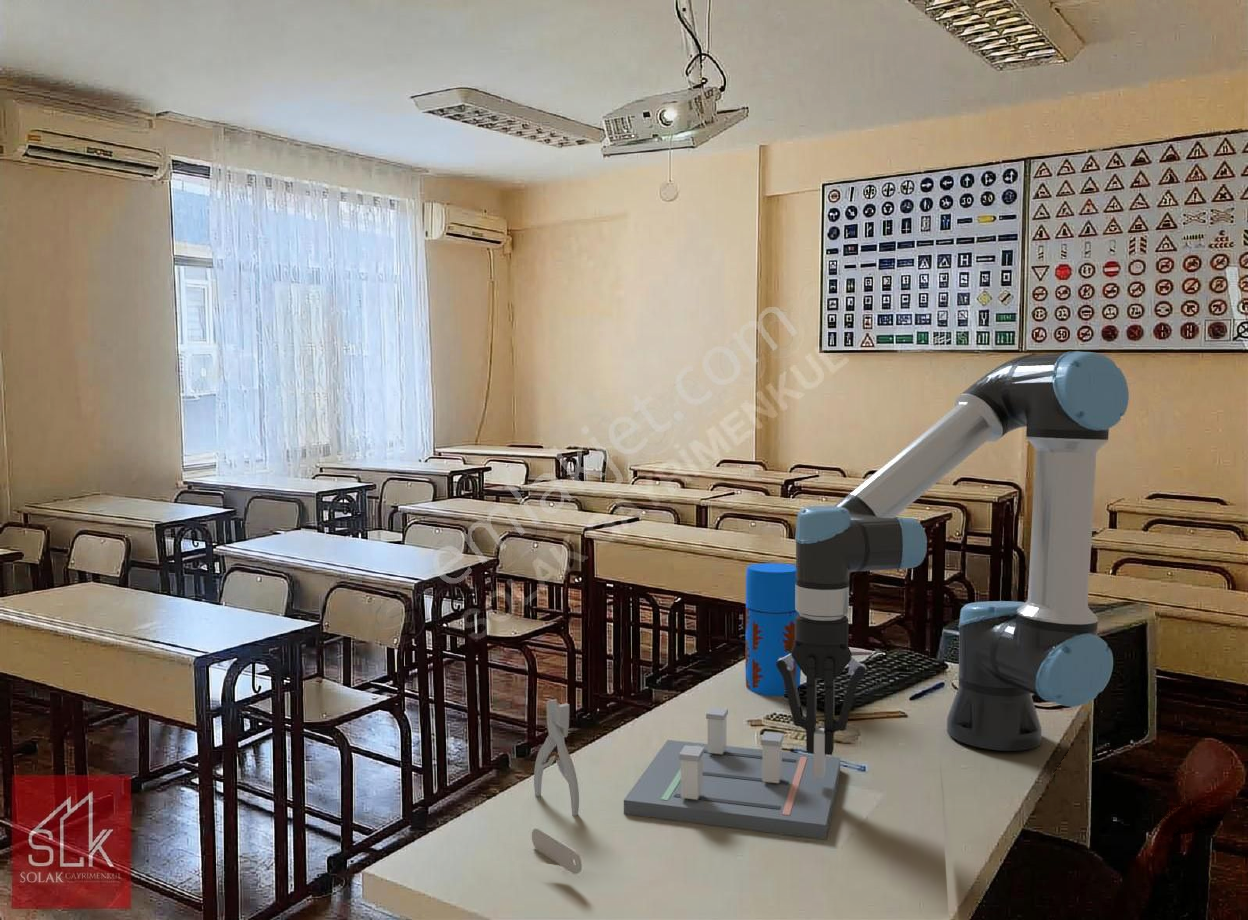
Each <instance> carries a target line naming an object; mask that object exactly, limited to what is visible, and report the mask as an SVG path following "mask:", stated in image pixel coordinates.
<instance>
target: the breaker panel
mask: <svg viewBox="0 0 1248 920" xmlns="http://www.w3.org/2000/svg"><path fill="white" fill-rule="evenodd" d="M685 745H688V746H697V747H704V754H703V764H702V792H701V794H700V796H699V798H698V800H696V799H688V798H681V760H679V754H680V752H681V751H682V749H683V748H684V746H685ZM762 755H763V749H758V748H750V747H749V748H748V747H742V746H741V747H740V746H731V745H726V749H725V751H724V752H723V754H715V753H708V743H702V742H701V743H700V742H692V741H684V740H683V741H681V740H672V739H667V740H666V742H665V743H664V744H663V746H662V747H661V748H660V749H659V751H658V752H657V753H656V755H655V757H654V758H653V760H651V762H650V763H649V764H648V766H647V768H646V769H645V770H644V771H643V773H642V774H641V776H640V777H639V778H638V779H637V781H636V782H635V784H634V785H633V786H632V788H631V790H630V791H629V792H628V793H627V794H626V796H625V797H624V799H623V814H624V815H631V816H636V817H637V816H639V817H647V818H655V819H661V820H662V819H663V820H669V821H677V822H685V823H686V822H687V823H692V824H700V825H707V826H708V825H710V826H717V827H724V828H733V829H740V830H746V831H747V830H749V831H755V832H763V833H773V834H780V835H786V836H787V835H788V836H795V837H801V838H810V839H811V838H812V839H816V840H817V839H819V840H827V835H828V830H829V825H830V821H831V816H832V811H833V807H834V802H835V797H836V792H837V788H838V783H839V778H840V774H841V757H839V756H837V757H836V756H828V755H826V773H825V777H824V779H821V778H813V776H814V754H810V753H809V754H806V753H796V752H789V751H782V776H781V779H780V781H779V783H772V782H763V781H762Z"/></svg>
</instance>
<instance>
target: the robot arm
mask: <svg viewBox="0 0 1248 920" xmlns="http://www.w3.org/2000/svg"><path fill="white" fill-rule="evenodd" d="M1129 396H1130V393H1129V385H1128V382H1127V379H1126V377H1125V375H1124V373H1123V371H1122V369H1121V368H1120V367H1118V366H1117V364H1116V362H1115V361H1114V360H1113V359H1111V358H1110V357H1108V356H1106V355H1105V354H1102V353H1097V352H1093V351H1092V352H1091V351H1079V350H1077V351H1067V352H1055V353H1054V352H1052V353H1041V354H1036V353H1035V354H1034V353H1033V354H1025V355H1020V356H1018V357H1014V358H1011V359H1010V360H1008V361H1005V362H1004V363H1002V364H1000V365H998V366H997V367H995V368H993V370H991V371H989V372H988V373H986V374H985V375H984V376H982V377H981V378H980V379H978V380H976V381H975V382H974V383H973V384H972V385H970V386H969V387H968V388H967V389H965V390H964V391H963V392H962V393H961V394H959V395H958V396H957V397H956V399H955V402H954V407H953V408H952V409H951V410H949V412H947V413H946V414H945V415H944V416H942V417H941V418H940V419H938V420H937V421H936V422H935V423H934V424H933V425H931V426H930V427H929V428H928V429H926V430H925V431H924V432H923V433H922V434H920V435H919V436H918V437H917V438H915V439H914V440H913V441H912V442H911V443H910V444H908V445H907V446H906V447H904V448H903V449H902V450H901V451H900V452H898V453H897V454H896V455H894V457H892V458H891V459H890V460H888V462H886V463H885V464H884V465H882V466H881V467H880V468H879V469H878V470H876V471H875V472H874V473H873V474H872V475H870V476H869V477H867V479H865V481H864V482H862V483H861V484H859V485H858V486H857V487H856V488H854V490H852V491H851V492H849V494H847V495H846V496H845V497H844V498H843V499H841V500H840V501H838V502H837V503H836V504H835V505H825V506H824V505H812V506H805V507H802V508H801V509H799V511H798V514H797V519H796V526H795V527H796V528H795V536H794V539H795V566H796V584H795V610H796V611H797V612H798V613H799V614H797V616H796V617H795V644H794V646H793V648H792V650H791V653H790V654H789V655H787V656H785V657H780V658H779V659H778V661H777V663H776V666H777V668H778V670H779V671H780V673H781V675H782V676H783V679H784V683H785V688H786V692H787V695H786V696H787V699H788V704H789V709H790V713H791V717H792V721H793V725H794V726H795V727H800V728H802V729H803V730H805V733H806V734H805V738H806V739H805V740H806V741H805V748H806V749H805V751H806V752H807V753H809V754H813V755H814V776H813V778H821V779H824V777H825V773H826V756H828V755H830V756H832V754H833V752H834V749H835V744H834V743H835V742H834V741H835V733H836V732H838V731H841V732H843V731H845V730H846V728H847V724H848V721H849V718H850V714H851V709H852V706H853V704H854V703H853V702H854V699H855V696H856V691H857V689H858V688H857V687H858V685H859V682H860V681H861V680H862V678H863V677H864V676H865V675H866V672H867V664H866V663H864V662H859V661H858V660H856V659H855V658H854V657H853V656H852V654H851V650H850V646H849V618H848V617H847V614H848V613H849V610H850V609H849V606H850V604H849V603H850V602H849V601H850V599H849V598H850V597H849V595H850V574H851V573H857V572H871V571H872V572H873V571H875V572H876V571H892V570H894V571H895V570H896V571H901V570H906V569H913V568H916V567H918V566H920V565H921V564H922V563H923V562H924V560H925V557H926V555H927V549H928V548H927V547H928V545H927V543H928V540H927V538H928V537H927V534H926V532H925V529H924V527H923V526H922V524H921V523H920V522H919V521H918V520H917V519H915V518H911V517H900V516H898V515H900V514H901V513H902V512H903V511H904V510H906V509H907V508H908V507H909V506H911V505H912V503H914V502H916V501H917V500H918V499H919V498H921V497H922V495H924V494H925V493H926V492H927V491H929V490H930V489H931V488H932V487H933V486H935V485H936V484H937V483H938V482H939V481H941V480H942V479H943V478H944V477H945V476H946V475H948V474H949V473H950V472H951V471H952V470H954V469H955V468H956V467H957V466H959V465H960V464H961V463H962V462H963V461H965V460H966V459H967V458H968V457H970V456H971V455H972V454H973V453H975V451H976V450H978V449H979V448H980V447H982V446H983V445H984V444H985V443H987V442H988V443H989V442H990V443H992V442H993V443H994V442H997V441H999V440H1000V439H1001V438H1002V437H1004V436H1005V435H1006V434H1008V433H1009V432H1012V431H1014V430H1017V429H1019V428H1024V427H1025V429H1026V432H1025V433H1026V434H1025V439H1026V440H1027V442H1029V443H1030V444H1031V446H1033V448H1034V450H1035V458H1034V460H1035V461H1034V462H1035V463H1034V477H1033V495H1032V497H1033V498H1032V516H1031V534H1030V549H1029V550H1030V554H1029V569H1028V570H1029V572H1028V573H1029V574H1028V589H1027V591H1028V592H1027V600H1026V601H1025V602H1024V601H1011V600H1010V601H1009V600H1008V601H1007V600H1006V601H1005V600H998V601H997V600H996V601H995V600H993V601H975V602H970V603H966V604H964V605H963V607H961V609H960V615H959V623H958V688H957V690H956V694H955V696H954V698H953V701H952V704H951V707H950V709H949V712H948V715H947V719H946V731H947V732H946V733H947V734H948V735H949V736H950V737H951V738H953V739H954V740H956V741H958V742H960V743H962V744H966V745H968V746H973V747H977V748H980V749H988V750H992V751H993V750H994V751H1006V752H1008V751H1011V752H1012V751H1013V752H1014V751H1024V750H1025V751H1026V750H1031V749H1035V748H1036V747H1038V746H1039V745H1040V744H1041V743H1042V734H1043V733H1042V725H1041V722H1040V718H1039V716H1038V713H1037V709H1036V706H1035V703H1034V700H1033V696H1032V694H1033V695H1035V696H1037V697H1040V698H1041V699H1042V700H1044V701H1046V702H1049V703H1052V704H1053V703H1054V704H1058V705H1061V706H1064V707H1079V706H1083V705H1086V704H1088V703H1090V702H1092V701H1093V700H1094V699H1096V698H1097V696H1098V695H1099V693H1102V692H1103V691H1104V689H1105V688H1106V687H1107V685H1108V684H1109V681H1110V678H1111V677H1112V674H1113V673H1112V672H1113V668H1114V667H1113V666H1114V657H1113V652H1112V650H1111V648H1110V647H1108V643H1107V642H1106V641H1105V640H1104V639H1102V638H1101V637H1100V636H1099V635H1098V626H1099V625H1098V623H1099V620H1098V616H1097V615H1096V614H1095V613H1094V612H1093V611H1092V610H1091V609H1090V607H1089V591H1090V589H1089V588H1090V573H1091V570H1090V569H1091V553H1092V537H1093V536H1092V535H1093V521H1094V520H1093V519H1094V501H1095V485H1096V484H1095V483H1096V482H1095V481H1096V467H1097V466H1096V465H1097V464H1096V463H1097V453H1098V451H1099V450H1100V449H1101V448H1102V447H1103V446H1105V445H1106V444H1107V443H1108V442H1109V436H1110V435H1109V434H1110V429H1111V428H1113V427H1114V426H1115V425H1117V424H1118V423H1120V421H1121V417H1122V416H1125V414H1126V412H1127V410H1128V406H1129V399H1130V398H1129ZM794 660H795V662H796V663H797V665H798V666H799V668H800V669H801V673H802V674H804V677H806V681H805V683H806V700H805V701H806V704H805V705H806V711H805V715H806V716H804V713H803V709H802V704H801V699H800V695H799V691H798V690H797V685H796V681H795V677H794V673H793V668H794V663H793V661H794ZM847 666H848V672H847V673H848V675H849V676H850V678H849V680H848V685H847V688H846V690H845V691H846V692H845V695H844V698H843V703H842V707H841V710H840V713H839V718H838V719H835V709H836V708H835V707H836V706H835V705H836V704H835V702H836V701H835V697H836V696H835V693H836V687H835V685H836V678H837V677H839V675H841V673H842V672H843V671H844V669H845V668H846V667H847ZM818 679H819V680H820V679H821V680H824V718H823V719H824V721H823V722H824V726H823V727H818V726H817V723H818V722H817V704H818V703H817V698H818V697H817V696H818V695H817V694H818V693H817V692H818V685H817V684H818Z"/></svg>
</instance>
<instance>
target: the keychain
mask: <svg viewBox="0 0 1248 920" xmlns="http://www.w3.org/2000/svg"><path fill="white" fill-rule="evenodd" d="M531 840H532V844H533V846H534V849H535V850H536V851H538V852H539V853H542V854H543V855H544V856H546V857H547V858H549V859H551V860H552V861H554V862H555V863H557V864H558V865H559V866H560V867H562V868H563V869H565V870H566V871H569V872H570V873H571V874H573V875H578V874H579V873H581V871H582V866H583V864H582V860H581V856H580V855H579V853H578V851H577V850H576V849H574V848H573V847H571V846H569V845H568V844H567V843H565V842H563V841H562V840H560V839H558V838H556V837H554V836H553V835H551V834H549V833H548V832H546V831H545V830H543V829H542V828H539V827H536V828H534V829H533V830H532V831H531Z"/></svg>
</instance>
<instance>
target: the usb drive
mask: <svg viewBox="0 0 1248 920" xmlns="http://www.w3.org/2000/svg"><path fill="white" fill-rule="evenodd" d="M850 651H851V650H850ZM874 651H875V653H883V654H884V652H883V651H882V650H880V648H875V649H874ZM872 653H873V652H871V651H851V654H852V657H853V656H872V655H871V654H872Z"/></svg>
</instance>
